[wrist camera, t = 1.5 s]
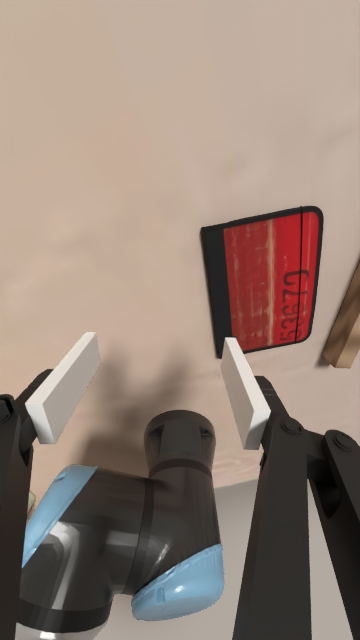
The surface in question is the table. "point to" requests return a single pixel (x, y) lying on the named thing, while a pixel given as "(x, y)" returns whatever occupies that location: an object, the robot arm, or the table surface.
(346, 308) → the rail
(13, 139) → the table surface
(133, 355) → the table surface
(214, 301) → the binder
